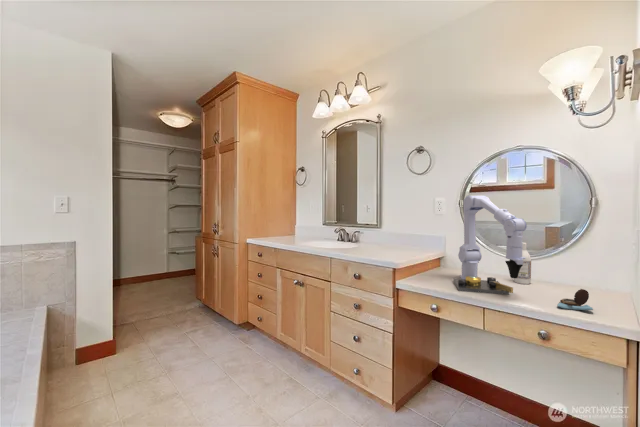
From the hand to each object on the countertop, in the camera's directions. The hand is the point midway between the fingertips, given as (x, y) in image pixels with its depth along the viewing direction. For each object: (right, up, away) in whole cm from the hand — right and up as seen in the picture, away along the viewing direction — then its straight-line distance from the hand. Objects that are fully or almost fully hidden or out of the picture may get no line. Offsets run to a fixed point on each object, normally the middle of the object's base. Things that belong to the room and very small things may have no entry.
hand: (513, 277), depth 124 cm
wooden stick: (-3, -6, +4) cm, 8 cm away
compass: (+15, -8, -11) cm, 20 cm away
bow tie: (+13, -7, -14) cm, 21 cm away
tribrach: (-8, -7, +12) cm, 16 cm away
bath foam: (+18, -7, +20) cm, 28 cm away
